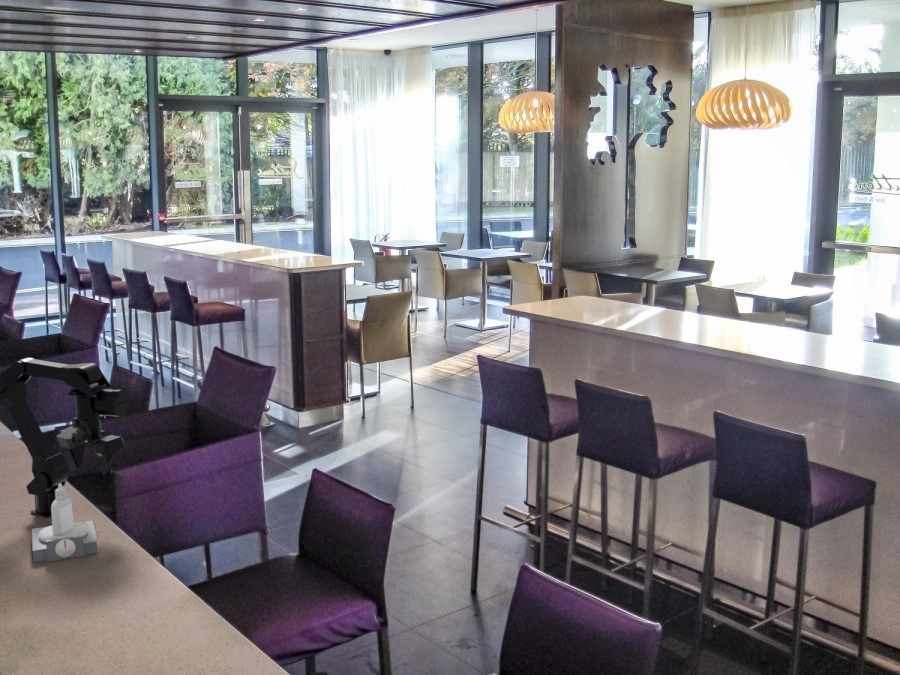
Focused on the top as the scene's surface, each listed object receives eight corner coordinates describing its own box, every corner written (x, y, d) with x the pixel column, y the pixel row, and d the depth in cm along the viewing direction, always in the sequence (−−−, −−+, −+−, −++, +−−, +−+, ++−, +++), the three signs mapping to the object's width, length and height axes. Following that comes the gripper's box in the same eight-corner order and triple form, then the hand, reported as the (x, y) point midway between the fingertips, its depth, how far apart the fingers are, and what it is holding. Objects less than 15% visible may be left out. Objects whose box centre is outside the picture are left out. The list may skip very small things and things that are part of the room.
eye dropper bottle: (78, 530, 226) (75, 483, 224) (56, 537, 222) (53, 489, 220) (69, 525, 229) (66, 479, 227) (47, 532, 225) (44, 485, 223)
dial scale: (32, 540, 230) (31, 521, 229) (93, 531, 236) (92, 513, 235) (33, 564, 217) (32, 544, 216) (97, 554, 222) (96, 535, 221)
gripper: (36, 415, 236) (40, 473, 239) (88, 426, 227) (91, 487, 230) (73, 405, 246) (76, 462, 249) (123, 415, 237) (126, 474, 240)
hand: (91, 471), depth 242 cm, fingers open, 9 cm apart
